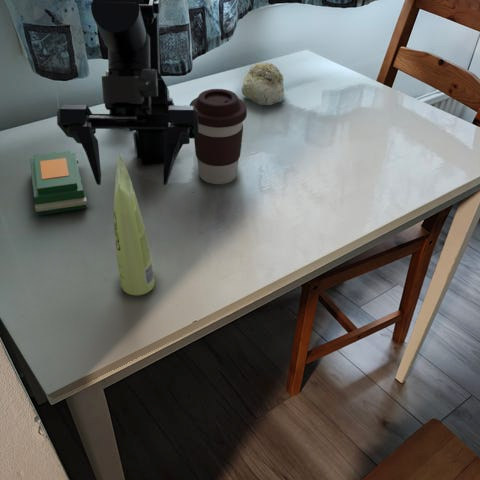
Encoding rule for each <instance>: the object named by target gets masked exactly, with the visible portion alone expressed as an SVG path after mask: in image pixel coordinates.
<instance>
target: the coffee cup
mask: <svg viewBox="0 0 480 480" xmlns="http://www.w3.org/2000/svg"><path fill="white" fill-rule="evenodd" d="M188 106H194V107H195V108H196V109H197V110H198V134H199V137H198V138H193V142H194V150H195V151H194V152H195V156H196V160H197V169H198V176H199V177H200V178H201V179H202V181H204V182H206V183H208V184H212V185H225V184H229V183H231V182H232V181H234V180H235V179H236V177H237V175H238V170H239V159H240V158H241V151H242V142H243V134H244V124H243V123H244V121H245V120H246V119H247V113H248V106H247V104H246V102H245V101H244V100H243V99H241V98H239V96H238V95H237V94H236V93H235V92H234V91H231V90H229V89H224V88H211V89H206V90H204V91H202V92H201V93H199V94H198V96H197V97H196V98H194V99H192V101H190V103H189V105H188Z"/></svg>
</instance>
